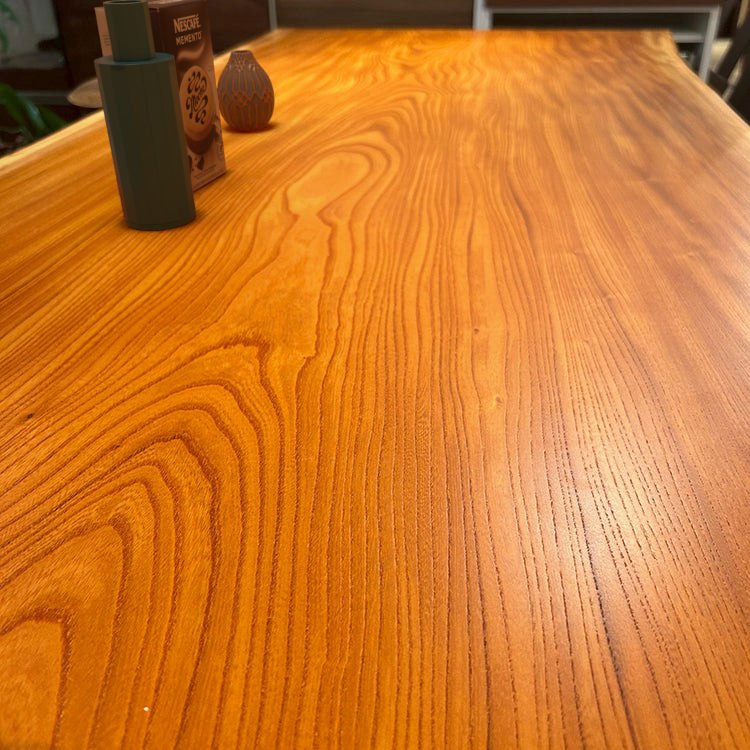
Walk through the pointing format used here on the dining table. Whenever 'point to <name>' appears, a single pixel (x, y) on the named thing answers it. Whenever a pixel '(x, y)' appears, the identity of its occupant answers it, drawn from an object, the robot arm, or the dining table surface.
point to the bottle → (144, 122)
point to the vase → (245, 93)
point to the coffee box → (187, 78)
